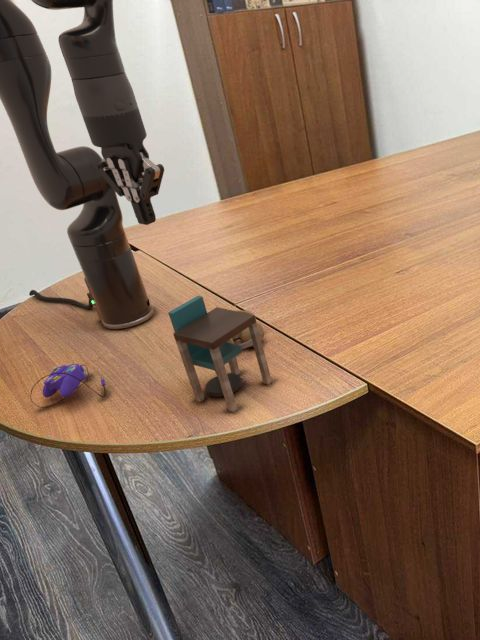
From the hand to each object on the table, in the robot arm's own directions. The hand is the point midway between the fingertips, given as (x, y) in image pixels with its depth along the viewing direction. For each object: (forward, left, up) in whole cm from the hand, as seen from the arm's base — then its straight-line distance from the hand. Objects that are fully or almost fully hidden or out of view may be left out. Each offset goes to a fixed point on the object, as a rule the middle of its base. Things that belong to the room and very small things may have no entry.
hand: (147, 222), depth 103 cm
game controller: (-9, -16, -25) cm, 31 cm away
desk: (+16, -6, -25) cm, 30 cm away
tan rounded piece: (+4, +6, -25) cm, 26 cm away
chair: (+13, -6, -25) cm, 29 cm away
